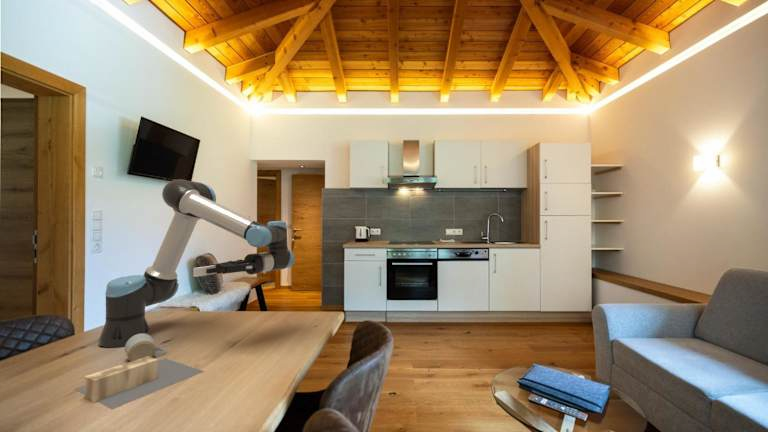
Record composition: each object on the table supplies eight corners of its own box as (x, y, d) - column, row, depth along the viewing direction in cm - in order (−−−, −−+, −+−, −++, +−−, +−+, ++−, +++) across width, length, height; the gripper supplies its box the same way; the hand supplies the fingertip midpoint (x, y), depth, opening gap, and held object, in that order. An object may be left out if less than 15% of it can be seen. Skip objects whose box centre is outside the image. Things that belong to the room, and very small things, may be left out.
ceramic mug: (127, 368, 99) (128, 342, 100) (124, 360, 105) (125, 335, 106) (168, 358, 106) (169, 334, 107) (163, 351, 112) (164, 329, 113)
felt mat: (74, 392, 84) (74, 388, 84) (165, 361, 104) (165, 358, 104) (112, 413, 75) (112, 409, 75) (204, 374, 94) (204, 371, 94)
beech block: (147, 374, 93) (84, 397, 80) (148, 356, 93) (84, 376, 80) (157, 377, 90) (93, 402, 78) (157, 359, 90) (94, 380, 78)
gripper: (269, 274, 121) (206, 286, 101) (247, 271, 128) (183, 282, 108) (269, 254, 121) (206, 261, 101) (247, 252, 128) (183, 259, 108)
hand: (194, 272), depth 104 cm, fingers closed
